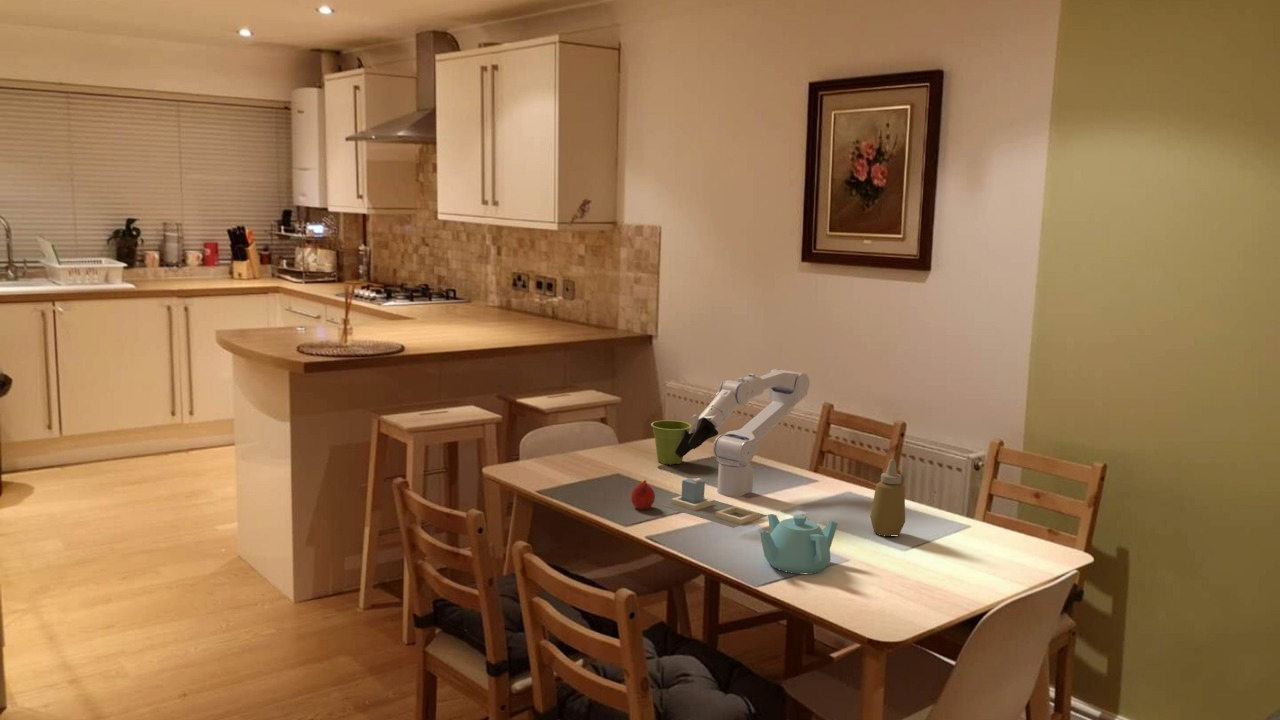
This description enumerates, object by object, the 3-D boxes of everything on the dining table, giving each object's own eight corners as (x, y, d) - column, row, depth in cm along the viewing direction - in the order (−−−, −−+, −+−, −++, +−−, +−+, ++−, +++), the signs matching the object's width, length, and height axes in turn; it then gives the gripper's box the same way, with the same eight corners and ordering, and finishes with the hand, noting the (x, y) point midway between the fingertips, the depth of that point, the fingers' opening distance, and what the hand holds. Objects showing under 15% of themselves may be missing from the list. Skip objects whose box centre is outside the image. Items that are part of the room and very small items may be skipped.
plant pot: (647, 456, 302) (648, 419, 300) (686, 457, 303) (688, 420, 302) (651, 467, 290) (653, 428, 289) (692, 467, 292) (694, 429, 290)
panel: (697, 499, 261) (697, 490, 261) (767, 519, 246) (768, 510, 246) (661, 509, 251) (662, 500, 250) (733, 531, 236) (733, 522, 236)
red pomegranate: (651, 516, 245) (653, 484, 244) (628, 513, 246) (629, 482, 245) (656, 509, 250) (657, 478, 249) (633, 507, 252) (634, 475, 250)
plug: (691, 500, 256) (692, 475, 255) (703, 504, 253) (705, 478, 252) (681, 503, 253) (682, 478, 252) (693, 507, 250) (694, 481, 249)
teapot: (753, 571, 211) (756, 521, 210) (766, 548, 226) (769, 502, 224) (827, 582, 207) (831, 531, 205) (835, 558, 221) (839, 511, 220)
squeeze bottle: (905, 531, 242) (911, 458, 239) (902, 541, 235) (909, 466, 232) (871, 526, 245) (876, 454, 242) (867, 536, 237) (873, 461, 234)
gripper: (691, 412, 261) (660, 447, 254) (717, 394, 249) (686, 430, 241) (710, 432, 261) (680, 467, 254) (737, 414, 249) (707, 450, 242)
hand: (684, 450), depth 248 cm, fingers open, 7 cm apart
